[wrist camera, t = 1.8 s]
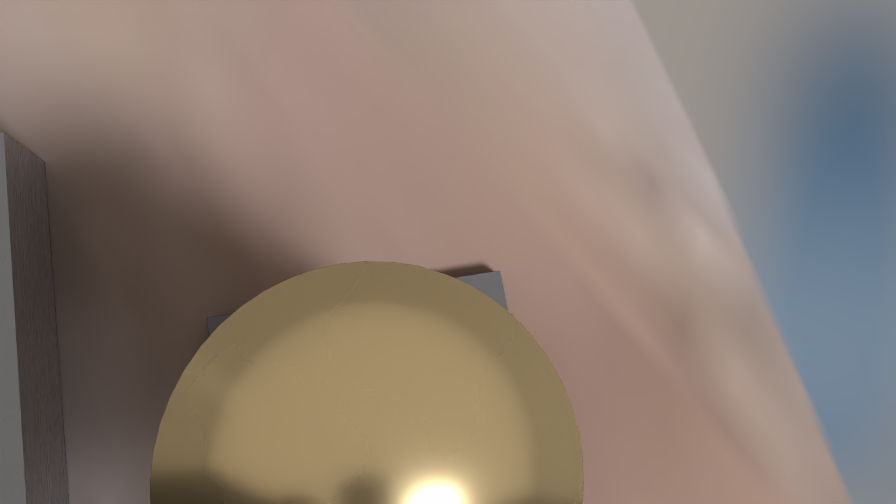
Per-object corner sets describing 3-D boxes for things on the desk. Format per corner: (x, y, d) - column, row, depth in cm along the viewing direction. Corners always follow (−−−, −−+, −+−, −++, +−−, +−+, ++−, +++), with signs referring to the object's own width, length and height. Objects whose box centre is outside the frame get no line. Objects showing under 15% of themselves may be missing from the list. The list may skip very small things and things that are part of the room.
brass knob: (501, 531, 17) (625, 656, 8) (288, 574, 16) (173, 758, 8) (463, 322, 18) (538, 232, 9) (260, 356, 17) (130, 296, 9)
